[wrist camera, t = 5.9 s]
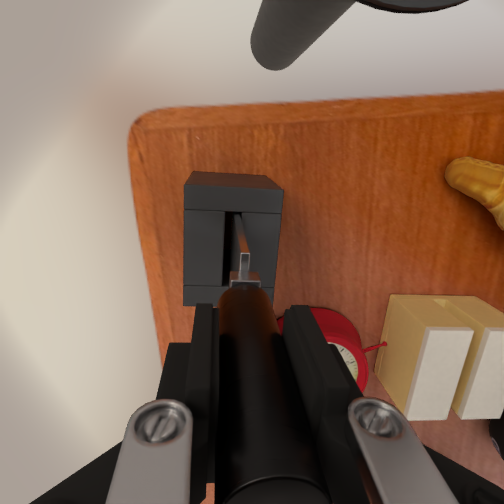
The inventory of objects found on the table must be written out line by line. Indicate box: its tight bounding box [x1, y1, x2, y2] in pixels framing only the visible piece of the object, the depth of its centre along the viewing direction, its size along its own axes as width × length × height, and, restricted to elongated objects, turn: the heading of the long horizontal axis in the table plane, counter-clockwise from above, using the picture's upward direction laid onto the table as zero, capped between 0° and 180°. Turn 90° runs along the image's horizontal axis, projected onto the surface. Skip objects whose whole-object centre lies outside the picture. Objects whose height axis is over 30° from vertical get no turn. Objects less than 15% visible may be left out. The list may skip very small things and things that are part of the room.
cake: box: [374, 294, 504, 421], centre depth 32 cm, size 9×9×7 cm
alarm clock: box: [277, 308, 387, 393], centre depth 32 cm, size 10×6×15 cm
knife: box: [214, 212, 333, 504], centre depth 15 cm, size 4×2×18 cm, turn 176°
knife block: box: [183, 171, 284, 307], centre depth 25 cm, size 8×6×8 cm
